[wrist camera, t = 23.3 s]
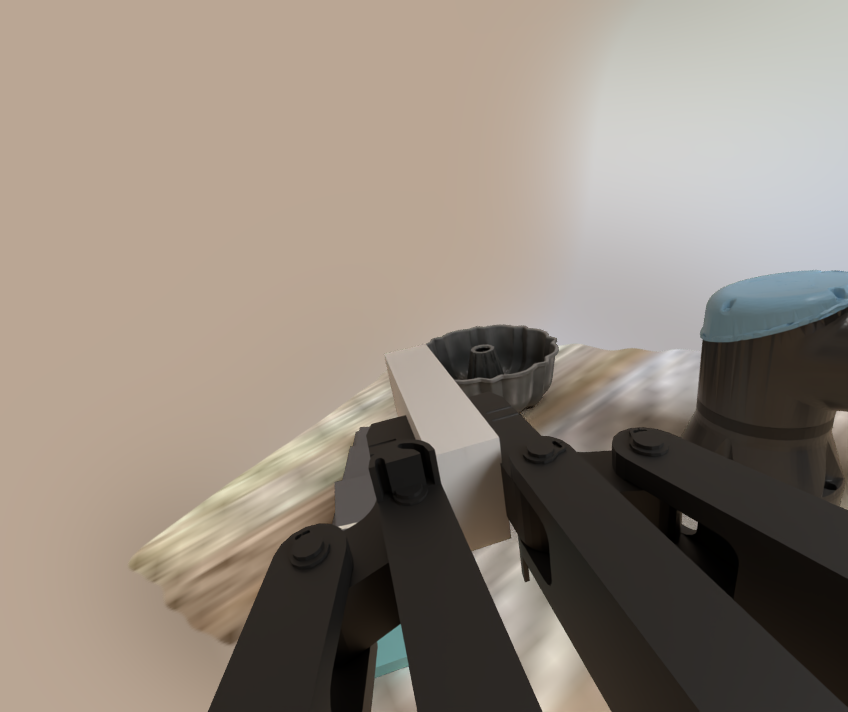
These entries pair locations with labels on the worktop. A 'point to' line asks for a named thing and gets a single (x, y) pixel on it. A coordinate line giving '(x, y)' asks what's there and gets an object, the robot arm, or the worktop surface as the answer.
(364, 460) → the black tile
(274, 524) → the worktop surface
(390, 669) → the teal tile
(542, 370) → the bundt pan
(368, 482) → the black tile
